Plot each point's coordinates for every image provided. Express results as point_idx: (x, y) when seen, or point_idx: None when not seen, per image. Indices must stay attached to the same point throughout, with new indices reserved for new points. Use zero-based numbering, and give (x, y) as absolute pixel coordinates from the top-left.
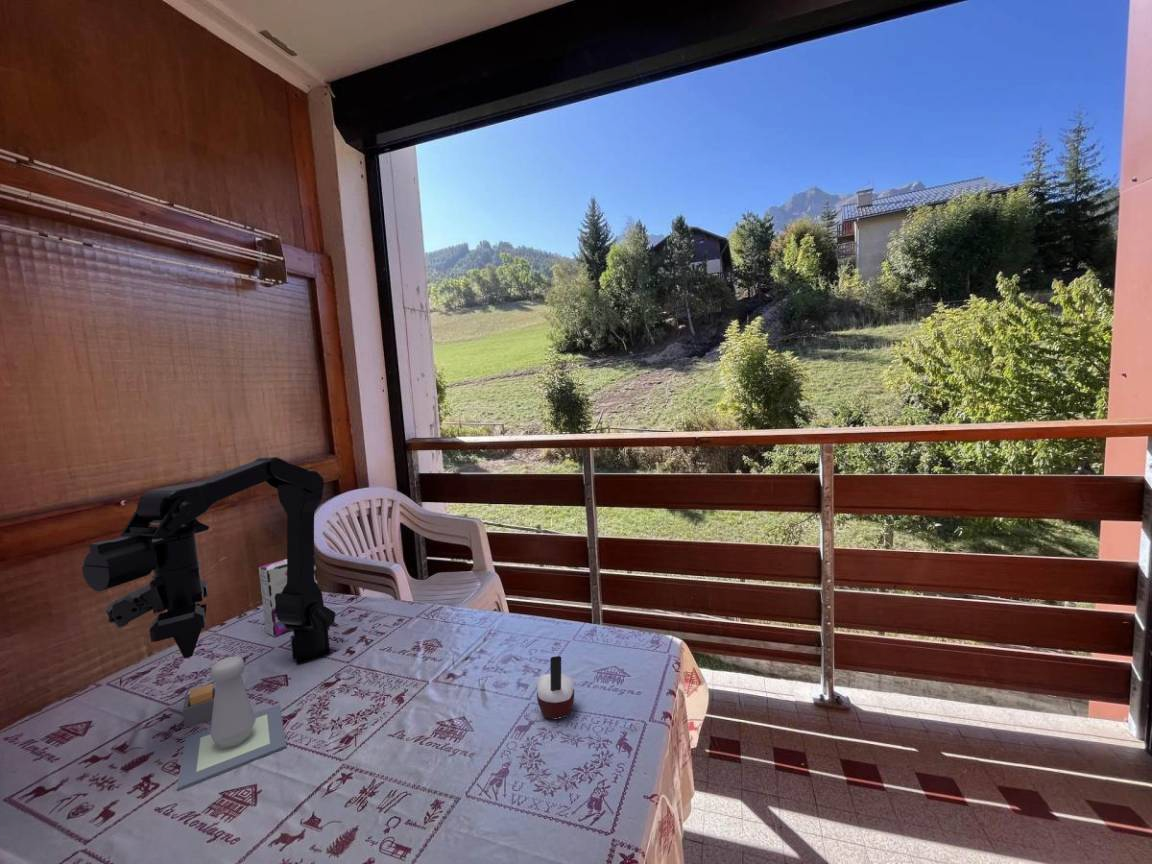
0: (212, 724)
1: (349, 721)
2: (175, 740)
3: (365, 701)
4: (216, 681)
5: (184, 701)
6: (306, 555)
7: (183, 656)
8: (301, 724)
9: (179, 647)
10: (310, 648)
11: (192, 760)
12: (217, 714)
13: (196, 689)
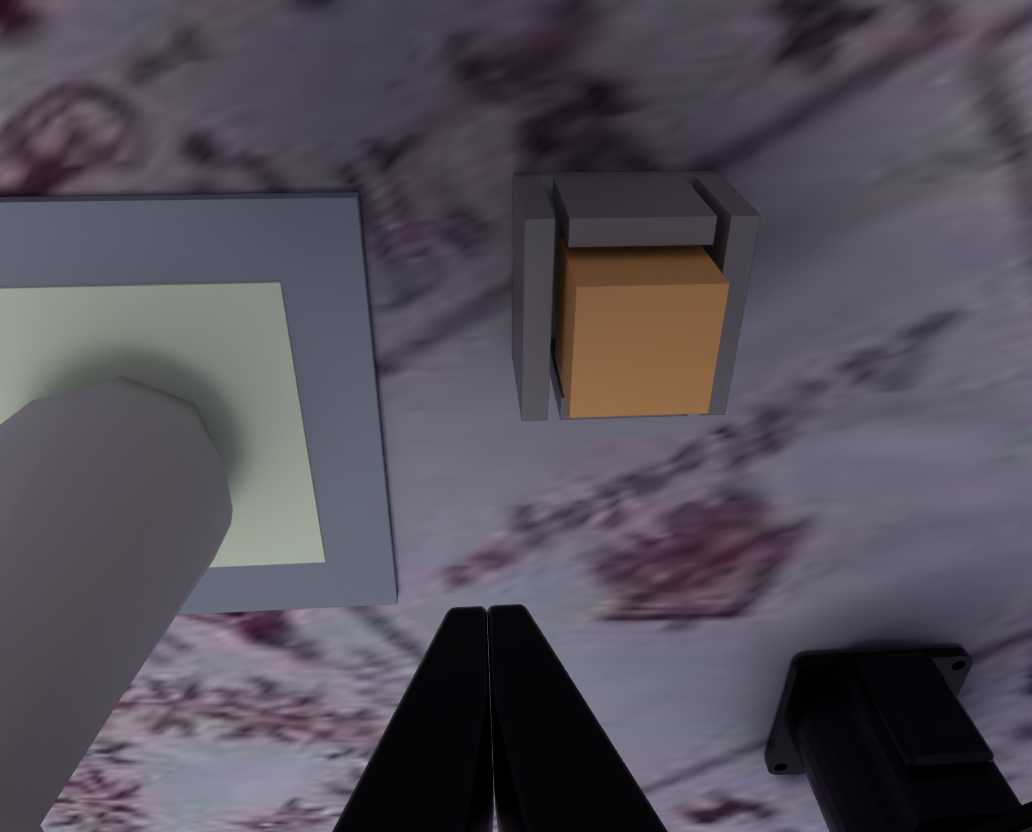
0: (16, 458)
1: (75, 785)
2: (395, 130)
3: (205, 828)
4: None
5: (676, 217)
6: None
7: (440, 629)
8: (157, 660)
9: (361, 786)
10: (818, 761)
11: (37, 258)
12: None
13: (700, 321)
